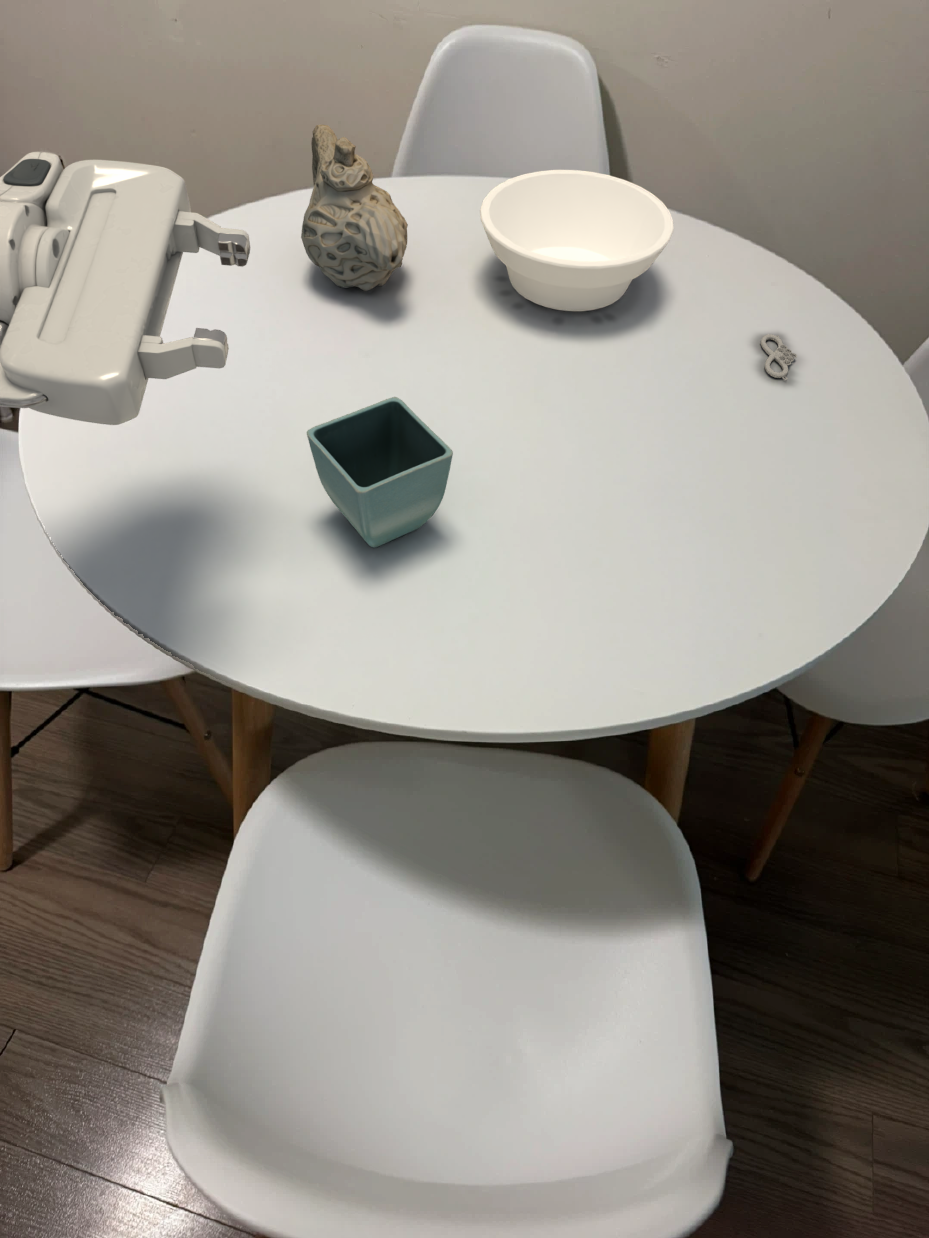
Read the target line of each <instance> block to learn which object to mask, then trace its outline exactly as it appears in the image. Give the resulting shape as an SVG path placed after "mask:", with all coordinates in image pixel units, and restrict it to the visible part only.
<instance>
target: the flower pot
mask: <svg viewBox="0 0 929 1238" xmlns="http://www.w3.org/2000/svg"><path fill="white" fill-rule="evenodd" d="M306 437H307V441H308V444H309V448H310V451H311V456H312V459H313V462H314V465H315V469H316V472H317V476H318V479H319V481H320V483H321V486H322V487H323V489H324V492H325V493H326V494H327V496H328V497H329V499H330V500H331V502H332V503H333V505H335V507H336V508H337V509H338V510H339V512H340V513H341V514H342V515H343V516H344V517H345V518H346V520H347V521H348V522H349V523H350V525H351V526H352V527H353V528H354V529H355V530H356V532H357V533H358V534H359V536H360V537H361V538H362V539H363V540H364V542H365V543H366V544H367V545H368V546H370V547H371V548H379V547H381V546H383V545H385V544H387V543H390V542H391V541H394V540H395V539H397V538H401V537H402V536H405V535H407V534H409V533H411V532H414V531H416V530H418V529H420V528H422V527H423V525H424V524H426V523H427V522H428V521H429V520H430V519H431V518H432V516H433V515H434V514H435V513H436V512H437V510H438V509H439V507H440V505H441V503H442V501H443V499H444V496H445V492H446V489H447V486H448V485H447V484H448V479H449V475H450V470H451V466H452V460H453V455H454V451H453V450H452V448H451V447H450V446H449V445H448V444H447V443H445V441H443V439H441V437H439V435H438V434H436V432H434V431H433V430H432V429H431V428H430V427H429V426H428V425H427V424H426V423H425V422H424V421H422V419H421V418H420V417H419V416H418V415H417V414H416V413H415V412H414V411H413V410H412V409H411V408H410V407H409V406H408V405H407V403H406V402H405V401H403V399H401V398H399V397H397V396H392V397H389V398H386V399H383V400H381V401H378V402H376V403H373V404H371V405H368V406H366V407H363V408H360V409H357V410H355V411H352V412H349V413H347V414H344V415H341V416H340V417H339V416H338V417H336V418H333V419H331V420H329V421H325V422H323V423H320V424H318V425H315V426H313V427H311V428H309V429H307V431H306Z"/></svg>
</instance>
